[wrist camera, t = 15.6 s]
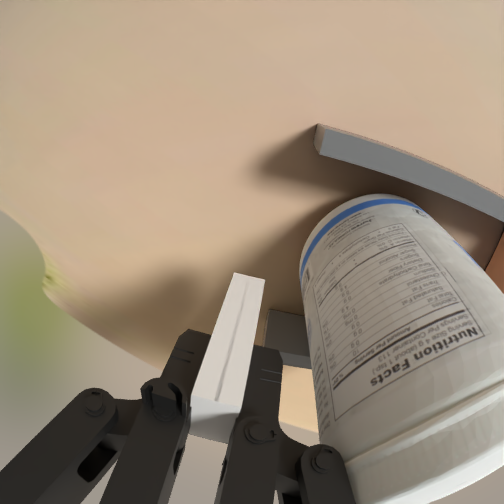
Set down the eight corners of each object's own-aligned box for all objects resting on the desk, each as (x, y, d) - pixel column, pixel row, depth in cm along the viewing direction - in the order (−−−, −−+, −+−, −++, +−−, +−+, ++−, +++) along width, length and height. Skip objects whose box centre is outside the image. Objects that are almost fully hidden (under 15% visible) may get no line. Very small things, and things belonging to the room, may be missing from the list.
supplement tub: (448, 259, 18) (553, 428, 5) (349, 332, 21) (389, 517, 9) (385, 153, 14) (602, 359, 2) (263, 256, 18) (262, 528, 5)
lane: (265, 320, 22) (254, 396, 16) (317, 123, 15) (335, 134, 9) (498, 353, 21) (522, 401, 15) (565, 236, 14) (607, 275, 8)
